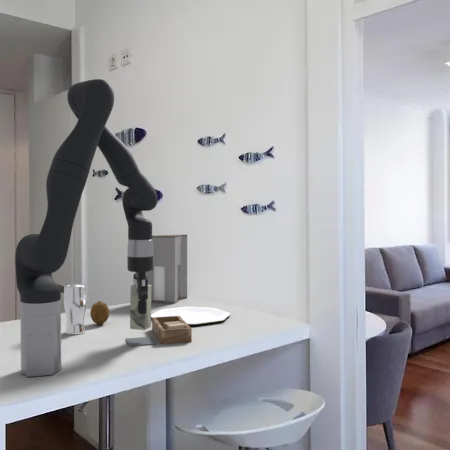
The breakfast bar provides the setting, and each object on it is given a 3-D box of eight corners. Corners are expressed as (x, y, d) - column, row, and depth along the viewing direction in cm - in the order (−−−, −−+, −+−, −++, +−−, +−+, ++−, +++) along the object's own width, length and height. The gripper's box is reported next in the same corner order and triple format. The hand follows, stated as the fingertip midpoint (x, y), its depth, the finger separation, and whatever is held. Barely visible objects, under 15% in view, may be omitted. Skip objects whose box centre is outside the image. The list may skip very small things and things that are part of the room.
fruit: (113, 323, 169) (113, 300, 169) (99, 327, 164) (99, 303, 164) (100, 321, 173) (100, 298, 172) (86, 325, 167) (86, 301, 167)
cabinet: (185, 297, 219) (185, 234, 218) (195, 301, 211) (195, 235, 210) (141, 302, 208) (141, 235, 207) (150, 306, 200) (150, 237, 199)
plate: (235, 312, 190) (235, 308, 189) (217, 329, 163) (217, 325, 163) (168, 309, 196) (168, 305, 196) (139, 324, 170) (139, 320, 169)
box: (129, 329, 145) (128, 285, 144) (136, 325, 149) (135, 283, 149) (145, 330, 143) (145, 286, 143) (152, 327, 148) (151, 284, 147)
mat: (156, 344, 144) (156, 343, 144) (128, 346, 141) (128, 345, 141) (152, 337, 151) (152, 336, 151) (125, 339, 149) (125, 338, 149)
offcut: (185, 332, 149) (185, 324, 149) (169, 334, 146) (169, 326, 146) (178, 329, 153) (178, 321, 153) (163, 330, 151) (163, 322, 151)
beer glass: (78, 328, 162) (78, 283, 162) (91, 332, 158) (90, 285, 157) (59, 332, 157) (59, 285, 156) (72, 336, 152) (71, 288, 152)
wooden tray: (191, 341, 147) (191, 328, 147) (161, 344, 144) (161, 330, 144) (179, 327, 164) (179, 315, 164) (152, 329, 161) (152, 317, 161)
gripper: (156, 256, 140) (157, 315, 140) (149, 252, 153) (149, 305, 154) (130, 257, 138) (130, 317, 138) (125, 252, 151) (125, 307, 152)
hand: (140, 310), depth 146 cm, fingers closed on box, 6 cm apart
